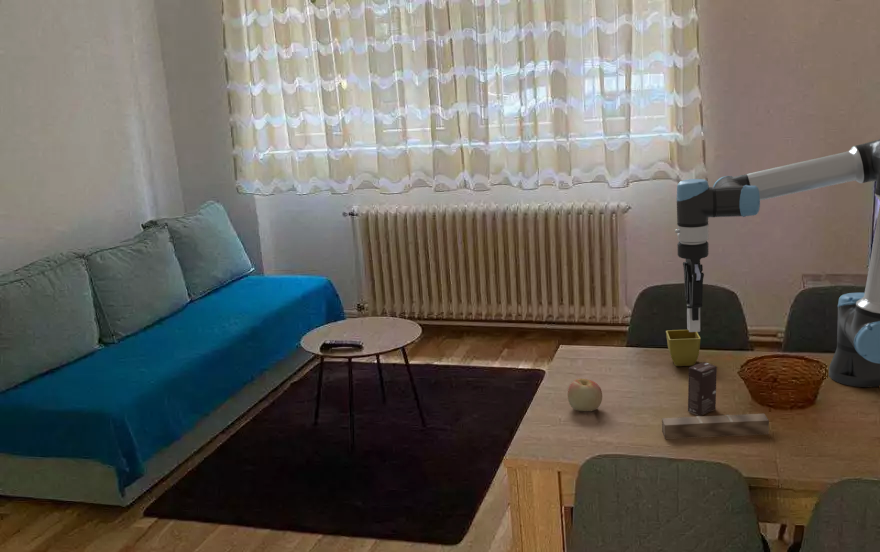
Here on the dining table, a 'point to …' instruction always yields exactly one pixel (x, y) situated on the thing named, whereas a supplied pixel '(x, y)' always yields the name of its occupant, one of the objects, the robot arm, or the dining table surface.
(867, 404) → the dining table surface
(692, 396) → the box
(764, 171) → the robot arm
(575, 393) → the apple
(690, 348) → the flower pot
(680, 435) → the grey long bar
